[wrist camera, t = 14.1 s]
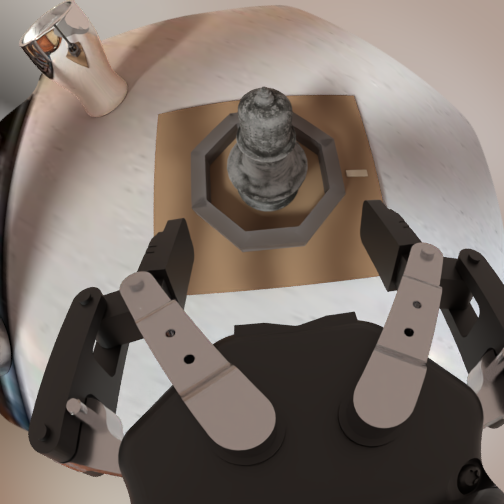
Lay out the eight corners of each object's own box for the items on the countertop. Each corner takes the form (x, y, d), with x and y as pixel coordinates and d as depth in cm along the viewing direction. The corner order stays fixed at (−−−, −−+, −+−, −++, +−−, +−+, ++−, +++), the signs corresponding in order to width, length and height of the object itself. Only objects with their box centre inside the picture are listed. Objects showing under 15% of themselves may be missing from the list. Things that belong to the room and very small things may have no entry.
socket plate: (161, 296, 23) (146, 297, 20) (161, 119, 26) (151, 103, 23) (389, 274, 22) (404, 272, 19) (351, 101, 25) (358, 83, 22)
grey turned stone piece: (287, 226, 23) (303, 157, 11) (221, 199, 23) (178, 117, 11) (312, 165, 23) (340, 69, 11) (249, 142, 24) (234, 41, 12)
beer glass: (136, 99, 27) (76, 9, 12) (87, 130, 27) (12, 59, 12) (125, 69, 28) (76, -9, 13) (82, 97, 28) (21, 31, 13)
